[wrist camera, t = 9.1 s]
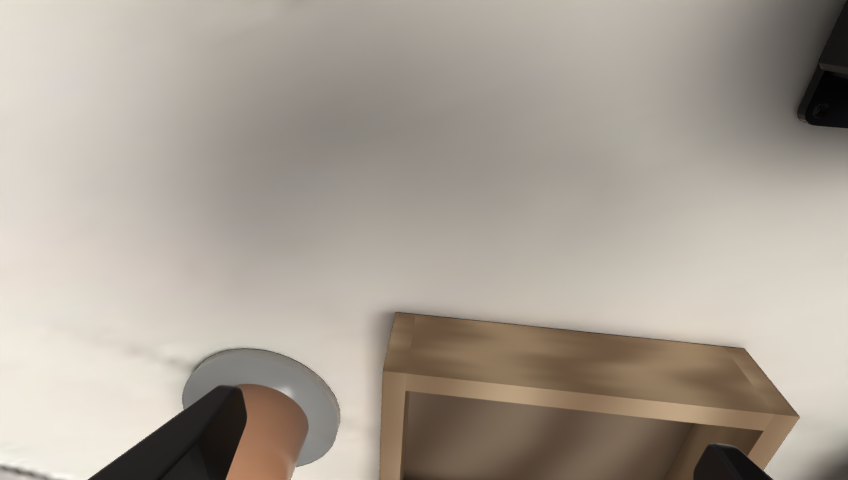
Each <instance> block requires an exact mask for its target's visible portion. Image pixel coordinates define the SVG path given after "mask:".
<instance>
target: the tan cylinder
mask: <svg viewBox="0 0 848 480" xmlns="http://www.w3.org/2000/svg"><path fill="white" fill-rule="evenodd" d="M234 386H238V387H240V388H241V389H242V392H243V396H244V401H245V406H246V410H247V422H246V426H245V429H244V432H243V434H242V437H241V440H240V443H239V445H238V448H237V451H236V453H235V456H234V459H233V461H232V464H231V467H230V470H229V472H228V475H227V478H226V480H291V478H292V475H293V472H294V470H295V467H296V464H297V461H298V459H299V456H300V453H301V450H302V448H303V445H304V442H305V440H306V437H307V434H308V430H309V424H308V419H307V416H306V414H305V413H304V411H303V410H302V408H301V407H300V406H299V405H298V404H297V403H296V402H295V401H294V400H293V399H292V398H290V397H289V396H287V395H286V394H284V393H282V392H280V391H278V390H276V389H273V388H270V387H267V386H263V385H257V384H239V385H234Z"/></svg>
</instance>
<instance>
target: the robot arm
mask: <svg viewBox="0 0 848 480" xmlns="http://www.w3.org/2000/svg"><path fill="white" fill-rule="evenodd" d="M820 104H821V109H820V110H819V112H818V113H817V114H815V115H812V114H813V110H814V109H815V107H817V106H818V105H820ZM797 114H798V118H799V119H800V120H801V121H802V122H805V123H808V124H811V125H815V126H827V127H839V128H848V0H846V3H845V5H844V7H843V9H842V11H841V13H840V16H839V18H838V20H837V22H836V24H835V27H834V29H833V31H832V33H831V35H830V37H829V40H828V42H827V44H826V46H825V48H824V50H823V53H822V55H821V57H820V59H819V64H818V67H817V69H816V71H815V73H814V75H813V78H812V80H811V82H810V84H809V86H808V88H807V91H806V93H805V95H804V97H803V99H802V101H801V104H800V106H799V108H798V112H797ZM246 422H247V410H246V406H245V401H244V396H243V392H242V389H241V388H240V387H238V386H232V385H219V386H217V387H215V388H214V389H212V390H211V391H210V392H208V393H207V394H205V395H204V396H203V397H201V398H200V399H198V400H197V401H196V402H194V403H193V404H192V405H190V406H189V407H187V408H186V409H185V410H183V411H182V412H180V413H179V414H178V415H176V416H175V417H174V418H172V419H171V420H169V421H168V422H167V423H165V424H164V425H163V426H161V427H160V428H158V429H157V430H156V431H154V432H153V433H151V434H150V435H149V436H147V437H146V438H145V439H143V440H142V441H140V442H139V443H138V444H136V445H135V446H133V447H132V448H131V449H129V450H128V451H127V452H125V453H124V454H122V455H121V456H120V457H118V458H117V459H115V460H114V461H113V462H111V463H110V464H109V465H107V466H106V467H104V468H103V469H102V470H100V471H99V472H98V473H96V474H95V475H93V476H92V477H91V478H89V479H88V480H226V478H227V475H228V472H229V470H230V467H231V464H232V461H233V459H234V456H235V453H236V451H237V448H238V445H239V443H240V440H241V437H242V434H243V432H244V429H245V426H246ZM693 480H773V479H772V478H771V477H770V476H769V475H767V474H766V473H765V472H764V471H763V470H762V469H761V468H760V467H759V466H757V465H756V464H755V463H754V462H753V461H752V460H751V459H750V458H748V457H747V456H746V455H745V454H744V453H743V452H742V451H741V450H739V449H738V448H737V447H735V446H733V445H729V444H721V443H710V444H708V445H707V446H706V448H705V450H704V452H703V453H702V455H701V457H700V459H699V461H698V462H697V464H696V466H695V468H694V472H693Z"/></svg>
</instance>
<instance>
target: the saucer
mask: <svg viewBox="0 0 848 480" xmlns="http://www.w3.org/2000/svg"><path fill="white" fill-rule="evenodd" d="M239 384H257V385H263V386H267V387H270V388H273V389H276V390H278V391H280V392H282V393H284V394H286V395H287V396H289V397H290V398H292V399H293V400H294V401H295V402H296V403H297V404H298V405H299V406H300V407H301V408H302V410H303V411H304V413H305V414H306V416H307V419H308V424H309V430H308V434H307V437H306V440H305V442H304V445H303V448H302V450H301V453H300V456H299V459H298V461H297V464H296V467H299V466H303V465H306V464H309V463H312V462H314V461H316V460H318V459H319V458H321V457H322V456H324V455H325V454H326V453H327V452H328V451H329V449H330V448H331V447H332V445H333V443H334V441H335V438H336V435H337V431H338V428H339V424H340V409H339V406H338V403H337V400H336V398H335V396H334V394H333V393H332V391H331V390H330V388H329V387H328V386H327V384H326V383H325V382H324V381H323V380H322V379H321V378H320V377H319V376H318V375H316V374H315V373H314V372H313V371H311V370H310V369H308V368H307V367H305V366H304V365H302V364H300V363H299V362H297V361H294V360H292V359H290V358H288V357H285V356H282V355H280V354H277V353H273V352H269V351H263V350H257V349H234V350H228V351H224V352H221V353H218V354H215V355H213V356H211V357H209V358H208V359H206V360H205V361H203V362H202V363H201V364H200V365H199V366H198V367H197V369H196V370H195V371H194V373H193V374H192V376H191V377H190V378H189V380H188V381H187V383H186V385H185V387H184V390H183V395H182V403H183V408H184V410H185V409H186V408H187V407H189V406H190V405H192V404H193V403H194V402H196V401H197V400H198V399H200V398H201V397H203V396H204V395H205V394H207V393H208V392H210V391H211V390H212V389H214V388H215V387H217V386H219V385H232V386H234V385H239Z"/></svg>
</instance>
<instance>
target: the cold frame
mask: <svg viewBox="0 0 848 480" xmlns="http://www.w3.org/2000/svg"><path fill="white" fill-rule="evenodd" d="M799 418H800V417H799V415H798V414H797V413H796V412H795V410H794V409H793V408H792V407H791V405H790V404H789V403H788V402H787V400H786V399H785V398H784V397H783V395H782V394H781V393H780V392H779V391H778V389H777V388H776V387H775V386H774V384H773V383H772V382H771V381H770V379H769V378H768V377H767V376H766V374H765V373H764V372H763V371H762V369H761V368H760V367H759V366H758V365H757V363H756V362H755V361H754V360H753V358H752V357H751V356H750V355H749V353H748V352H747V351H746V350H745V349H741V348H731V347H722V346H712V345H703V344H693V343H684V342H674V341H665V340H655V339H645V338H636V337H626V336H617V335H607V334H598V333H588V332H579V331H569V330H560V329H550V328H541V327H531V326H522V325H512V324H502V323H493V322H483V321H474V320H464V319H455V318H445V317H436V316H426V315H417V314H407V313H398V312H396V314H395V318H394V323H393V327H392V332H391V336H390V341H389V345H388V350H387V354H386V359H385V363H384V368H383V379H382V413H381V446H380V479H379V480H693V472H694V468H695V466H696V464H697V462H698V461H699V459H700V457H701V455H702V453H703V452H704V450H705V448H706V446H707V445H708V444H710V443H721V444H729V445H733V446H735V447H737V448H738V449H739V450H741V451H742V452H743V453H744V454H745V455H746V456H747V457H748V458H750V459H751V460H752V461H753V462H754V463H755V464H756V465H757V466H759V467H760V468H761V469H762V470H764V469H765V467H766V466H767V464H768V463H769V461H770V460H771V458H772V457H773V456H774V454H775V453H776V451H777V450H778V448H779V447H780V445H781V444H782V442H783V441H784V440H785V438H786V437H787V435H788V434H789V432H790V431H791V429H792V428H793V426H794V425H795V424H796V422H797V421H798V419H799Z"/></svg>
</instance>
